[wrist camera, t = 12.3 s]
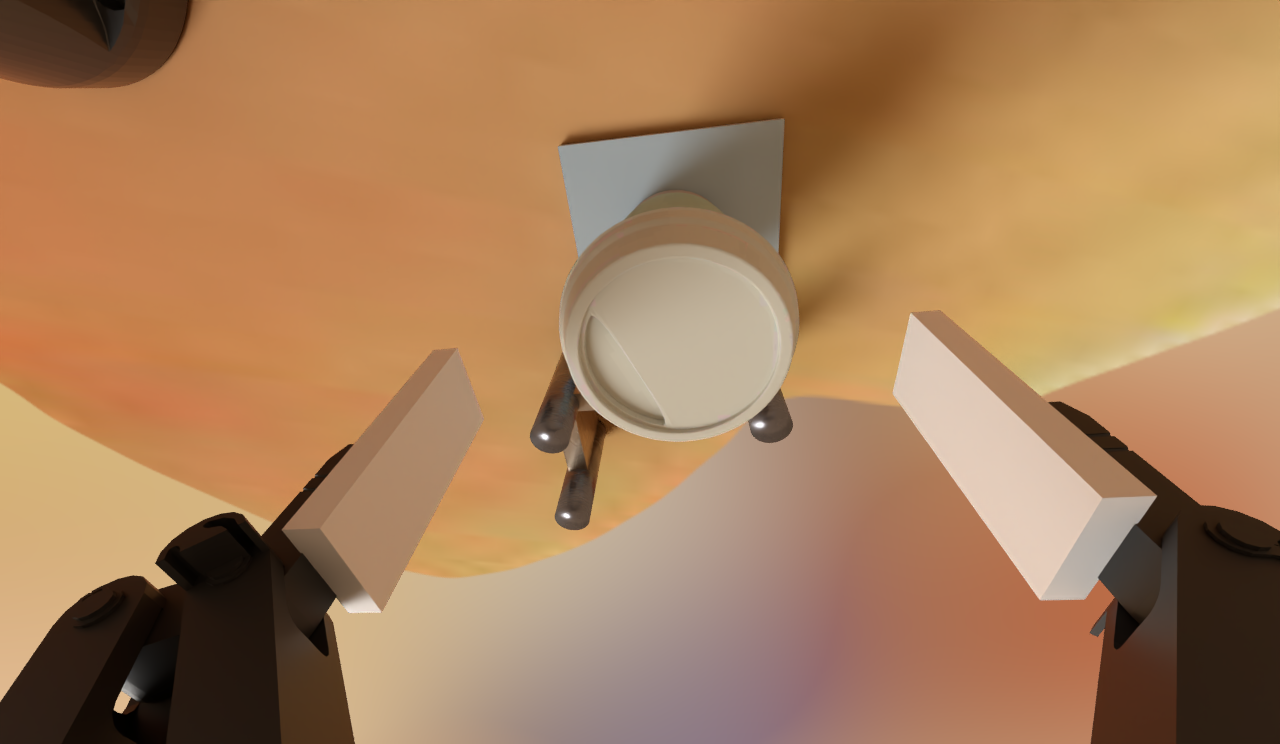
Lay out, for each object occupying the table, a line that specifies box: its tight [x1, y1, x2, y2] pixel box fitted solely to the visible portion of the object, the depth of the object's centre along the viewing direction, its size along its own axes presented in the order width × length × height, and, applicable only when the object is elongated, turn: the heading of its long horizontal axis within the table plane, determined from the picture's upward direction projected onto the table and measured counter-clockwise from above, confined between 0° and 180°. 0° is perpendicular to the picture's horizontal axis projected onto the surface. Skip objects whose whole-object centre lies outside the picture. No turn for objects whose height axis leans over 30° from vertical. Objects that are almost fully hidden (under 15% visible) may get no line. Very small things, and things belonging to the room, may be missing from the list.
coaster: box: [558, 118, 785, 257], centre depth 25 cm, size 11×11×1 cm
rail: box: [530, 352, 793, 530], centre depth 28 cm, size 8×13×8 cm, turn 97°
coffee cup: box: [559, 190, 799, 442], centre depth 20 cm, size 9×9×12 cm
